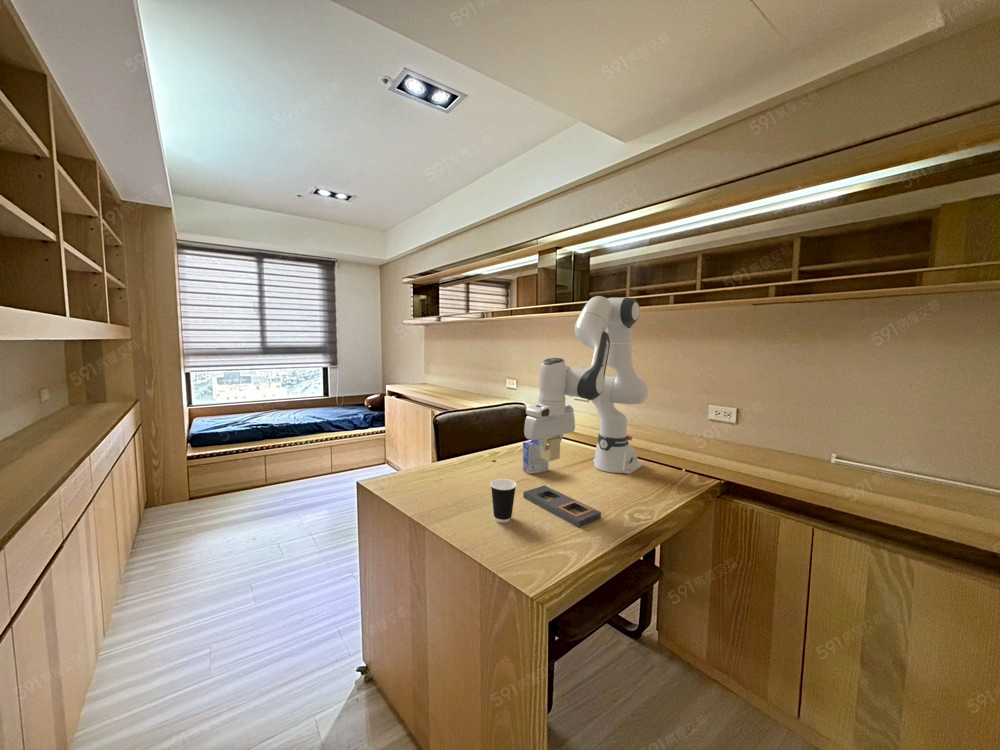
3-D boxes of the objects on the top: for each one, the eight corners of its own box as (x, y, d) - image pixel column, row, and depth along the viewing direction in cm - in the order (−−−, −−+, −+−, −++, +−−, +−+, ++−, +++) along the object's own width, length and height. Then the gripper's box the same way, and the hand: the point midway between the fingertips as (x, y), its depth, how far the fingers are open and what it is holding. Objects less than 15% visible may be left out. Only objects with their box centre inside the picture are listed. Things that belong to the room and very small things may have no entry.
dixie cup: (484, 518, 115) (484, 483, 114) (503, 510, 120) (503, 476, 119) (502, 528, 109) (503, 491, 108) (521, 519, 115) (522, 484, 114)
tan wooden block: (549, 455, 129) (550, 435, 128) (559, 458, 126) (560, 438, 125) (540, 457, 127) (540, 437, 126) (549, 461, 123) (550, 440, 122)
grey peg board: (544, 490, 136) (544, 484, 136) (600, 518, 116) (601, 511, 116) (523, 497, 130) (523, 491, 130) (578, 527, 110) (579, 520, 110)
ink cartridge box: (542, 467, 161) (543, 433, 159) (549, 471, 156) (550, 437, 154) (521, 470, 157) (522, 435, 155) (528, 474, 152) (529, 439, 150)
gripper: (566, 403, 133) (564, 441, 134) (521, 409, 121) (520, 451, 122) (580, 406, 128) (578, 446, 129) (535, 413, 116) (533, 456, 117)
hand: (550, 448), depth 126 cm, fingers closed on tan wooden block, 4 cm apart
